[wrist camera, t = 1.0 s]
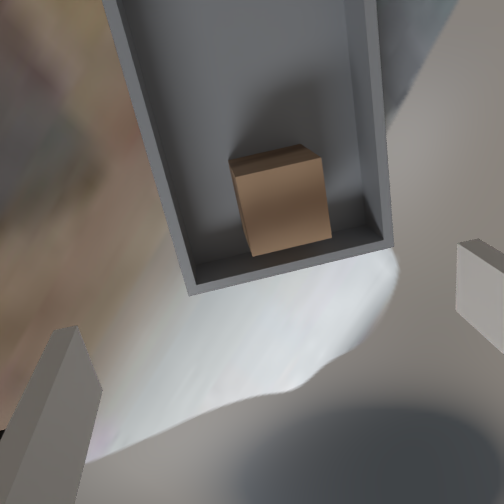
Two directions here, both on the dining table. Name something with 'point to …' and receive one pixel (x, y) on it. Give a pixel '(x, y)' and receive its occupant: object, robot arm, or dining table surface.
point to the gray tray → (256, 120)
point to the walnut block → (281, 198)
